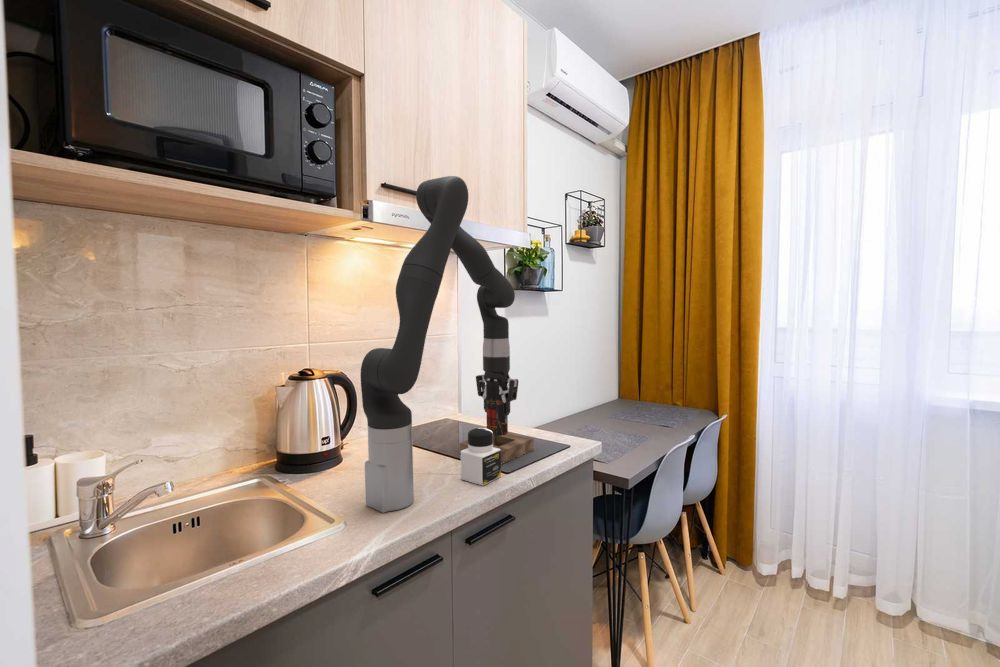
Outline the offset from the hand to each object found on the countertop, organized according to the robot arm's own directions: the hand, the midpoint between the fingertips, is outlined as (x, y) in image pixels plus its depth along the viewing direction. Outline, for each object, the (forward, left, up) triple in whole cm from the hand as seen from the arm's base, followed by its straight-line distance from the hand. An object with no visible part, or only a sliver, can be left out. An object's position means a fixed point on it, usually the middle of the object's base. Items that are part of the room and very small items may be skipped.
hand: (496, 413), depth 132 cm
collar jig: (0, 0, -11) cm, 11 cm away
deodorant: (0, 0, -6) cm, 6 cm away
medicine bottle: (-17, -9, -12) cm, 22 cm away
